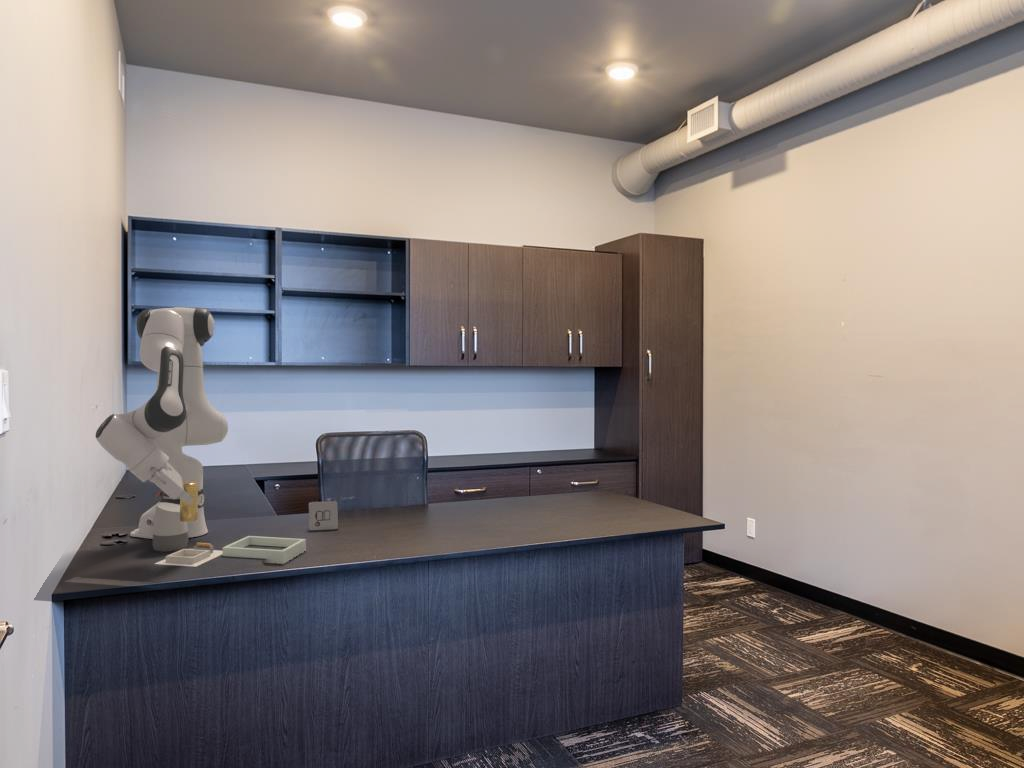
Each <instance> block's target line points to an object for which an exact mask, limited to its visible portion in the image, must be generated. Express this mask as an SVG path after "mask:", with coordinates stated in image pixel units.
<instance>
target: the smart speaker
mask: <svg viewBox="0 0 1024 768" xmlns="http://www.w3.org/2000/svg"><path fill="white" fill-rule="evenodd" d="M157 503H158V502H157ZM157 503H156V504H157ZM156 504H155V505H156ZM188 543H189V538H188V528H187V522H183V521H180V505H177V504H173V503H167V502H161V503H158V504H157V505H156V512H155V521H154V529H153V539H152V547H153V551H157V552H162V553H163V552H164V553H165V552H177V551H179V550H182V549H187V547H188Z"/></svg>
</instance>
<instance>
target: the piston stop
mask: <svg viewBox="0 0 1024 768" xmlns="http://www.w3.org/2000/svg"><path fill="white" fill-rule="evenodd" d="M183 487H184V490H185V491H186V492H187V493H188V494H189V495H190V496H192V497H193V498H194V501H193V502H192V503H191V504H188V503H187V502H185V501H184V500H182V499H181V498H180V521H183V522H190V521H196V520H198V482H183Z"/></svg>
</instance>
